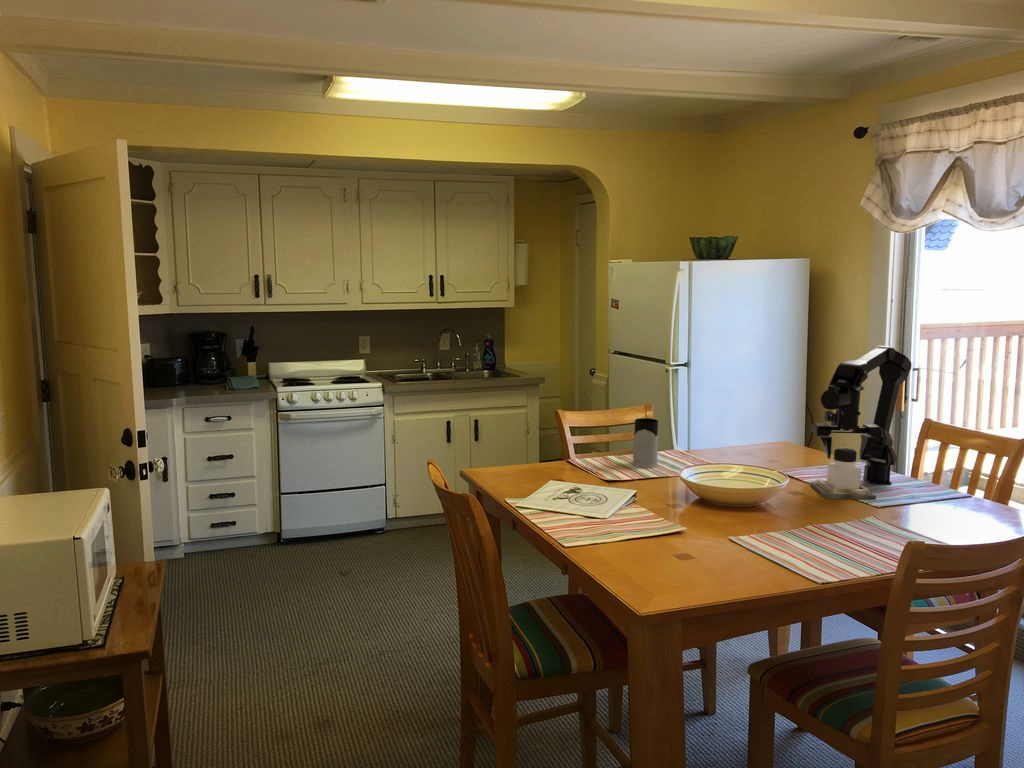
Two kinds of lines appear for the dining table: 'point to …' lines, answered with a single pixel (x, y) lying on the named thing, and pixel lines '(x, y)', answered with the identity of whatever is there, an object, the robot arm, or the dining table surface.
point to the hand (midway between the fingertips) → (844, 458)
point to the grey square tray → (841, 491)
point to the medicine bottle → (844, 470)
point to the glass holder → (645, 443)
